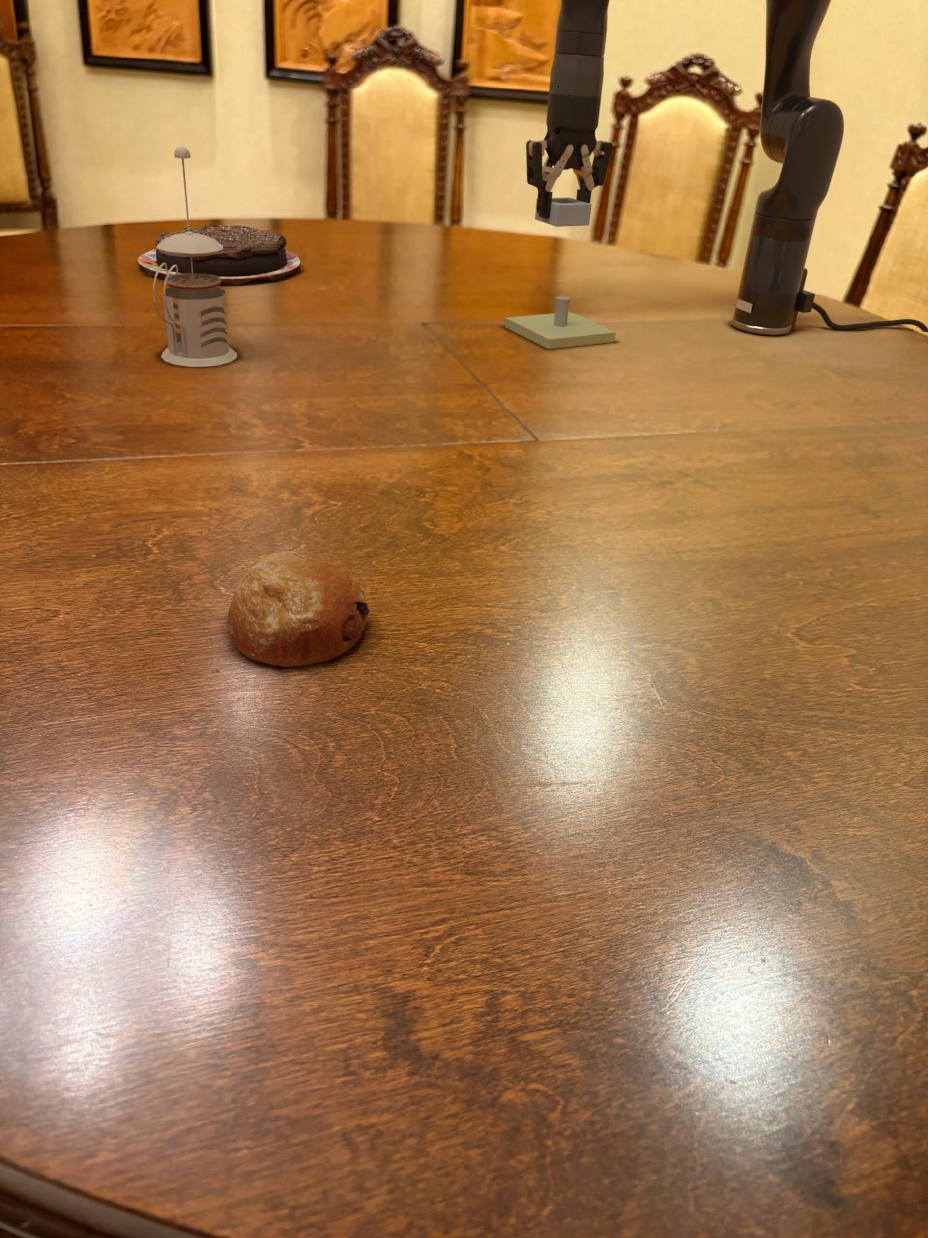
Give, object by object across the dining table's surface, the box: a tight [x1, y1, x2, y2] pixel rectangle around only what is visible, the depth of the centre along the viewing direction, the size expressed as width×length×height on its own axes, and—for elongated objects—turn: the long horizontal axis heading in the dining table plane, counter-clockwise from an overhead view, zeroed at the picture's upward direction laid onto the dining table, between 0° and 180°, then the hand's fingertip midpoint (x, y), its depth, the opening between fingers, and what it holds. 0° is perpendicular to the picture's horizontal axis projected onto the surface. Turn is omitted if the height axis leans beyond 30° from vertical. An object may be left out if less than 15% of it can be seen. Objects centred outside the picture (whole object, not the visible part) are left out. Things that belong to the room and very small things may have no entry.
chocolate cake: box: [137, 223, 302, 286], centre depth 170 cm, size 28×28×7 cm
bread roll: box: [226, 550, 370, 668], centre depth 72 cm, size 10×10×8 cm
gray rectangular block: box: [534, 197, 593, 228], centre depth 146 cm, size 6×6×3 cm
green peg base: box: [504, 295, 617, 350], centre depth 146 cm, size 12×12×6 cm
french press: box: [152, 146, 238, 368], centre depth 121 cm, size 10×12×25 cm
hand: (562, 216), depth 147 cm, fingers closed on gray rectangular block, 6 cm apart
